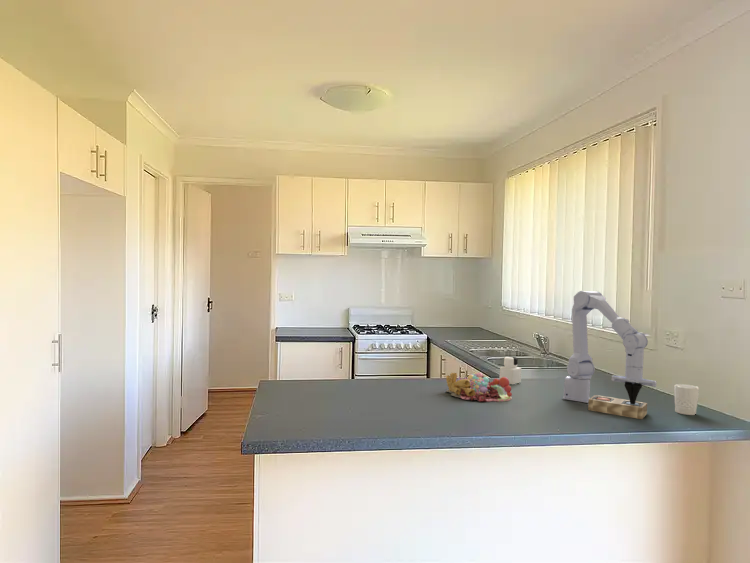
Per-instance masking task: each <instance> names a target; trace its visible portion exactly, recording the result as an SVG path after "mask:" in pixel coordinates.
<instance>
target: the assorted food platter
mask: <svg viewBox="0 0 750 563" xmlns="http://www.w3.org/2000/svg"><path fill="white" fill-rule="evenodd" d="M445 379H446V385H447V387H448V389H447V390H446V391H445V392H447V393H450V395H451V396H453V397H455V398H460V399H462V400H466V401H467V400H470V401H471V402H472V401H478V402H507V401H511V400H512V399H513V397H512V396H513V394H512V392H511V391H512V386H510V384H509V380H508V379H507V378H506V377H502V378H500V379H499V378H493V379H492V381H490V379H489V378H488V377H487V376H484V374H483V373H482V372H476V371H475V372H474V373H470V374H469V375H468V376H467V377H466V376H464V378H463V376H461V377H460V375H459V376H458V373H457V372H451V373H450V374H449V375H446V376H445Z"/></svg>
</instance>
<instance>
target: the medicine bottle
mask: <svg viewBox="0 0 750 563" xmlns="http://www.w3.org/2000/svg"><path fill="white" fill-rule="evenodd" d="M518 360H519V359H518V357H515V356H512V355H511V356H505V357H504V358H503V365H504V366H500V367H499V376H498V377H499V378H498V379H500V378H502V377H506V378H507V379H508V380H509V385H510V384H515V383H519V382H522V367H519V366H518V365H519V364H518V363H519V362H518ZM519 384H520V383H519ZM515 385H516V384H515Z"/></svg>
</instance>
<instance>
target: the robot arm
mask: <svg viewBox="0 0 750 563" xmlns="http://www.w3.org/2000/svg"><path fill="white" fill-rule="evenodd" d="M606 299H607V298H606V297H605V295H603V294H602V292H600V291H599V290H596V291H590V290H589V291H588V290H579V291H577V292H576V293H575V294H574V296H573V305H572V309H571V321H572V322H571V323H572V327H571V328H572V346H573V347H572V349H573V352H572V354H571V356H569V358H568V362H567V363H568V364H567V367H566V370H567V373H568V376H565V377H564V384H563V396H562V399H563V400H568V401H575V402H579V403H580V402H581V403H587V404H588V402H589V399H590V398H591V396H590V395H591V394H590V393H591V391H590V390H591V379H592V376H593V375H594V374H595V373H596V372H595V371H596V367H595V364H594V362H593V358H592V356H591V355H590V354H589V344H588V343H589V342H588V340H589V339H588V320H587V319H588V318H587V315H588V314H589V313H590V312H591V311H593V310H598V311H599V312H600V313H601V314H602V315H603V316H604V317H605V318H606V319H607V320H609V322H610V323H611V329H612V330H614V332H615V333H616V334H617V335H618V337H620V338H621V340H622V345H623V346H624V348H625V350H624V351H625V366H624V367H625V368H624V369H625V370H624V375H611V382H618V383H624V389H625V390H626V392H627V395H628V398H629V399H628V400H630V404H635V402H636V401H637V397H638V396H639V393H640V391H641V389H642V387H643V386H646V387H652V388H657V383H658V382H657V380H652V379H646V378H644V355H645V354H644V353H645V348H647V346H648V343H649V341H648V337H647V336H646V334H644V332H639V331H638V329H636V328H635V327H634V326H633V325H632V324H631V323H630V320H629V319H628V318H625V317H620V316H619V314H618V313H617V312H616V311H615V310H614V308H613V307H612V306H611V305H610V304H609V302H608V301H607V300H606Z"/></svg>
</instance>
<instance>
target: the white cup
mask: <svg viewBox="0 0 750 563" xmlns="http://www.w3.org/2000/svg"><path fill="white" fill-rule="evenodd" d="M673 388H674V395H673V396H674V412H676V413H677V414H681V415H685V416H686V415H687V416H696V415H697V408H698V402H699V401H698V400H699V392H700V387H699V386H695V385H692V384H685V383H676V384H674V387H673ZM695 414H696V415H695Z"/></svg>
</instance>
